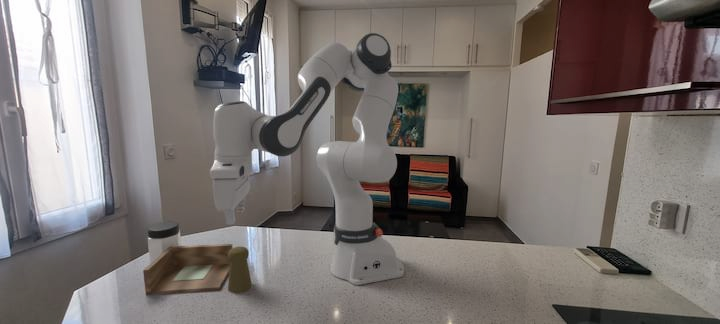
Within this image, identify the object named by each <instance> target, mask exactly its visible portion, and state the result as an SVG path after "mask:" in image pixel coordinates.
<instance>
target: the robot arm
mask: <svg viewBox="0 0 720 324" xmlns="http://www.w3.org/2000/svg"><path fill="white" fill-rule="evenodd" d="M391 57H392V50H391V46H390V43H389V42H388V40H387V39H386V38H385V37H384V36H383V35H381V34H379V33H376V32H375V33H373V32H371V33H368V34H366V35H364V36H363V37H361V39H360V40H359V41H358V43H357V45H356V47H355V48H354V50H349V49H348V48H347V47H346V46H345V45H344V44H342V43H340V42H335V41H334V42H330V43H328V44H327V45H324V47H322V48H320V49H319V50H318V51H317V52H316V53H314V54H313V55H312V56H311V57H310V58H309V59H308V60H307V61H306V62H305V63H304V64H303V66H302V67H301V68H300V70H299V72H298V73H297V82H298V86H299V88H300V90H301V91H302V93H301V94H300V95H299V96H298V97H297V99H296V100H295V101H294V103H292V105H291V106H290V107H289V109H288V110H286V111H285V112H283V113H281V114H277V115H268V114H266V113H263V112H262V111H259V110H258V109H255V108H253V107H252V106H251V105H249V104H248V102H247V101H241V100H238V101H231V102H230V101H229V102H224V103H220V104H218V105H217V106H216V107H215V109H214V113H213V122H212V124H213V125H212V126H213V127H212V128H213V129H212V131H213V140H214V143H215V150H214V154H213V155H214V161H213V165H212V167H210V170H209V177H210V179H211V180H212V179H213V181H212V193H213V202H214V206H215V209H216V211H217V212H223V213H224V217H225V223H226V225H227V226H230V225H231V226H233V225H235V223H236V215H235V211H236V213H238V214H239V213H243V212H244V211H245V203H246V196H247V195H248V194H249V193H250V191H251V180H250V179H251V178H250V177H251V176H250V174H251V173H252V172H253V151H254V150H258V151H263V152H266V153H270V154H271V155H274V156H276V157H288V156H290V155H292V154H294V153H295V152H296V151H297V150H298V149H299V148H300V145H301V144H302V142H303V139H304V136H305V133H306V131H307V129H308V128H309V126H310V124H311V123H312V121H313V120H314V119H315V117H316V116H317V114H319V112H320V111H321V109H322V107H324V105H325V104H326V102H327V100H328V99H329V97H330V94H331V92H332V91H333V90H335V87H336V86H337V85H338V84H339V83H340V82H342V83H343V84H345V85H346V86H347V87H349V88H350V89H352V90H353V91H355V92H363V93H362V95H361V97H360V100H359V102H358V105H357V107H356V110H355V112H354V113H353V116H352V120H351V123H352V126H353V129H354V130H355V132H356V133H357V134H359V138H358V140H356V141H347V140H346V141H345V140H334V141H329V142H325V143H323V144H322V145H321V146H320V147H319V148H318V151H317V153H316V166H317V168H318V170H320V172H321V173H323V175H324V176H325V178H327V181H328V183H329V186H330V187H331V191H332V193H333V194H332V195H333V196H334V197H333V198H334V205H335V206H334V207H335V208H334V209H335V223H334V227H333V242H334V248H333V254H332V261H331V262H330V263H331V264H330V266H329V270H330V272H331V274H333V275H334V276H335V277H337V278H339V279H341V280H345V281H347V282H349V283H350V284H353V285H355V286H356V285H357V286H360V285H364V284H370V283H375V282H381V281H386V280H392V279H398V278H403V276H404V275H405V266H404V264H403V262H402V261H401V259H400V258H399V257H398V256H397V254H396V251H395V249H394V246H393V245H392V244H391V243H390V242H389V241H388V240H386V239H385V238H383V234H384V232H383V229H381V228H380V227H379V226H378V225H377V224H376V223H375V222H373V218H374V217H373V215H374V214H373V211H374V208H373V207H374V203H373V198H372V197H371V195H370V194H368V192H366V191H365V189H364V188H363V187H362V185H361V183H360V182H365V183H374V184H375V183H385V182H388V181H390V180H391V179H392V178H393V176H394V175H395V173H396V171H397V167H398V159H397V155H396V154H395V152H394V150H393V149H392V148H391V147H390V145H389V143H388V139H387V134H388V129H389V125H390V122H391V120H392V117H393V114H394V112H395V107H396V105H397V100H398V95H399V94H398V93H399V85H398V82H397V81H396V79H394V78H393V77H392V76H390V75H389V73H388V72H389V71H390V70H391V69H392V66H393V65H392V60H391Z"/></svg>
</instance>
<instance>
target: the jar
mask: <svg viewBox="0 0 720 324" xmlns="http://www.w3.org/2000/svg"><path fill="white" fill-rule="evenodd" d="M147 235H148V237H147V245H148V246H147V247H148V255H149V257H148V258H149V265H150V264H151V263H152V262H153V261H154V260H155V259H156V258H157V257H158V256H160V255H161V254H162V253H163V252H164V251H165V250H166V249H167V248H168V247H172V246H182V240H181V230H180V224H179V222H178V221H171V220H170V221H162V222H157V223H154V224H151V225H149V226H148V227H147Z"/></svg>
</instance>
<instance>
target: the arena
mask: <svg viewBox="0 0 720 324" xmlns="http://www.w3.org/2000/svg"><path fill="white" fill-rule="evenodd" d="M232 248H234V247H233V243H219V244H197V245H196V244H195V245H181V246H172V247H168V248H167V249H166V250H165V251H164V252H163V253H162V254H161V255H160V256H158V257H157V258H156V259H155V260H154V261H153V262H152V263H151V264H150V263H149V264H148V265H147V266H146V267H145V268H144V269H143V271H142V273H143V280H144V281H143V282H144V289H145V295H149V296H151V295H163V294H164V295H165V294H179V293H193V292H208V291H211V292H212V291H220V290H221V288H222V287H223V284H224V282H225V280H226V278H227V277H228V276H229V272H230V261H229V259H228V253H229V251H230V250H231V249H232Z"/></svg>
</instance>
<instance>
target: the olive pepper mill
mask: <svg viewBox="0 0 720 324" xmlns="http://www.w3.org/2000/svg"><path fill="white" fill-rule="evenodd" d="M249 254H250V253H249V250H248V248H247V247H245V246H235V247H233V248H232V249H231V250H230V251H229V253H228V259H229V261H230V271H229V273H228V284H227V290H228V292H230V293H232V294H238V293H239V294H240V293H244V292H247V291H248V290H249V289H250V288H252V286H253V285H252V279H251V273H250V269H249V263H248V258H249Z"/></svg>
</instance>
